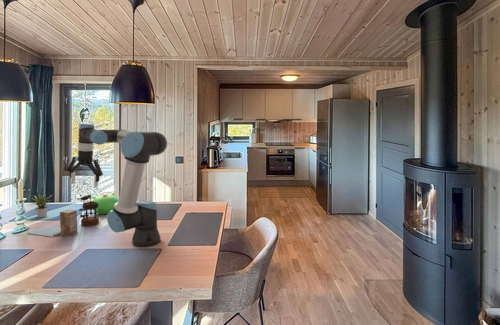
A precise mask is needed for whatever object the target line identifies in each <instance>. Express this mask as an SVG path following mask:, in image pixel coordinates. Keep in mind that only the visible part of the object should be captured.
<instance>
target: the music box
mask: <svg viewBox="0 0 500 325" xmlns="http://www.w3.org/2000/svg"><path fill="white" fill-rule="evenodd" d="M76 199H77V201H79V200H80V201H83V203H82V208H79V209H78V210H79V212H80V215H79V217H80V218H81V219H80V218H79V219H80V223H81V224H80V225H81V226H82V227H93V226H97V225H99V224H100V217H98V216H97V215H98V214H99V212H96V208H98V206H99V204H98V203H97V202H93V200H92V195H91V194H87V195H84V196H82V197H80V198H76ZM89 199H90V200H89ZM87 200H89V201H87ZM85 201H87V202H85ZM93 209H94V210H93ZM92 210H93V211H94V212H93V211H92ZM100 210H104V209H100ZM88 211H89V212H88ZM83 212H84V214H83ZM92 215H93V216H92Z"/></svg>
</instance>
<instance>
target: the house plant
mask: <svg viewBox="0 0 500 325" xmlns="http://www.w3.org/2000/svg"><path fill="white" fill-rule="evenodd" d="M52 196H53V194H50V195H49V196H47V197H46V194H45V193H44V194H43V195H42V196H41V194H40V193H38V197H37V196H36V195H34V198H35V199H34V198H33V197H32V198H31V199H32V200H34V201H35V203H33V202H32V203H31V205H36V206H37V207H36V208H35V212H36V215H37V216H36V217H37V218H39V217H41V218H46V217H47V216H48V207H49V206H47V205H48V204H51V202H50V201H51V199H50V198H51V197H52ZM49 199H50V200H49Z"/></svg>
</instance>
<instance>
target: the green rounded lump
mask: <svg viewBox="0 0 500 325" xmlns="http://www.w3.org/2000/svg"><path fill="white" fill-rule="evenodd" d="M115 194H116V192H115V191H114V192H111V193H109V194H100V195H99V196H96V195H91V199H93V200H92V202H97V203H98V204H99V206H98V208H96V212H99V213H98V214H99V215H100V214H101V215H107V214H108V212H109V211H111V210H112V211H113V209H114V205H115V203H117V202H118V201H119V198H118V197H116V196H115ZM100 209H104V210H100ZM93 211H94V209H93Z"/></svg>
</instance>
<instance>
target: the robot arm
mask: <svg viewBox="0 0 500 325" xmlns="http://www.w3.org/2000/svg"><path fill="white" fill-rule="evenodd" d="M77 142H78V147H77V155H75V156H72V158H71V161H70V163H69V165H68V167H67V168H66V172H69V178H70V184H71V185H74V184H76V172H75V171H77V169H78V168H80V166H82V167H83V166H84V167H88V168H89V169H90V170H91V171H92V173H93V174H94V177H93V178H94V180H93V188H97V187H98V186H99V185H98V184H99V182H100V177H102V176H103V175H104V174H103V170H102V168H101V167H100V164H99V159H98V158H96V159H93V157H94V144H95V145H104V144H110V143H111V144H113V143H116V144H117V143H118V144H120V152H121V154H122V155H123V157H124V160H126V161H125V168H124V173H123V177H122V182H121V187H120V190H119V197H118V202H117V203H115V205H114V209H113V211H112V210H111V211H109V212H108V214H106V221H107V224H108V226H109V228H110V230H111V231H113V232H114V233H121V232H125V231H128V230H132V229H134V232H133V235H132V239H131V244H132V245H133V246H135V247H141V248H142V247H143V248H144V247H145V248H146V247H153V246H155V245H158V244H159V243H160V242H161V234H160V232H159V230H158V229H159V228H158V208H157V207H158V206H157V203H156V202H154V201H150V200H149V201H148V200H138V198H139V192H140V188H141V184H142V179H143V174H144V170H145V166H146V164H148V163H149V162H150V160H151V159H150V158H151V156H157V155H158V156H159V155H161V154H163V153H164V152H165V151H166V150H167V147H168V140H167V137H166V136H165V135H164V134H162V133H160V132H158V131H151V132H150V131H145V132H144V131H130V130H129V131H128V130H126V129H120V128H119V129H98V128H97V129H96V128H95V125H94V124H93V123H92V122H80V123H79V124H78V141H77ZM77 161H78V162H77ZM76 162H77V163H76Z"/></svg>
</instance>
